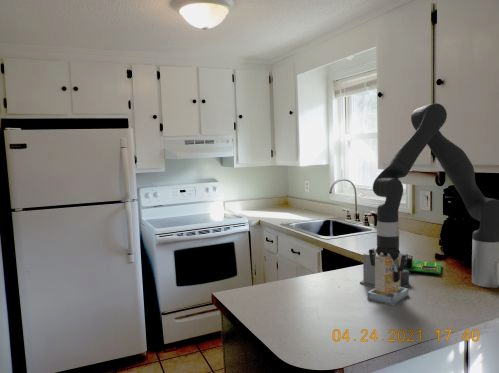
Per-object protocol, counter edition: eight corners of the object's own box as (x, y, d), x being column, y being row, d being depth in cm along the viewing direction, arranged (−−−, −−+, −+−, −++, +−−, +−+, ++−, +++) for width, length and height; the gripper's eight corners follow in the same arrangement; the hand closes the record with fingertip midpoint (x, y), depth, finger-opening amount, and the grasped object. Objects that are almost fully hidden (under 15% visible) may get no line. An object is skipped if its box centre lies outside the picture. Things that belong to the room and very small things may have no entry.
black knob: (411, 283, 157) (411, 271, 156) (404, 286, 154) (404, 273, 154) (401, 280, 161) (401, 268, 160) (394, 283, 158) (394, 270, 158)
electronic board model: (441, 251, 177) (440, 260, 164) (441, 266, 177) (440, 276, 164) (372, 246, 191) (365, 254, 177) (372, 260, 191) (366, 269, 178)
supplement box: (384, 295, 139) (384, 258, 138) (374, 291, 144) (374, 255, 142) (401, 290, 143) (401, 254, 142) (390, 286, 147) (390, 251, 146)
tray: (408, 295, 145) (408, 288, 144) (392, 305, 136) (392, 298, 136) (383, 289, 151) (383, 283, 151) (367, 298, 143) (367, 292, 142)
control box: (393, 282, 159) (393, 250, 158) (381, 288, 152) (380, 255, 151) (372, 277, 166) (372, 246, 165) (359, 283, 159) (359, 251, 158)
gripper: (364, 232, 144) (364, 278, 146) (402, 238, 134) (402, 287, 135) (374, 229, 149) (374, 273, 151) (412, 234, 139) (412, 281, 141)
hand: (388, 279), depth 143 cm, fingers closed on supplement box, 5 cm apart
